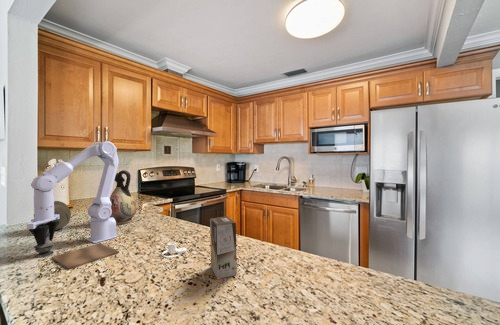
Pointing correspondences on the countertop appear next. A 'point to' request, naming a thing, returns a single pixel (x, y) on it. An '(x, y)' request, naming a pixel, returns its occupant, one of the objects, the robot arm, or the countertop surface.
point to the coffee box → (223, 247)
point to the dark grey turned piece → (44, 247)
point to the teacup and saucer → (173, 249)
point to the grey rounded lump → (62, 214)
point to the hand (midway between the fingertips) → (45, 242)
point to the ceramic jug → (122, 200)
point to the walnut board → (84, 255)
